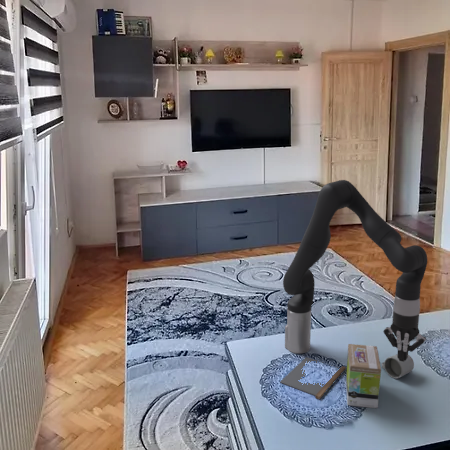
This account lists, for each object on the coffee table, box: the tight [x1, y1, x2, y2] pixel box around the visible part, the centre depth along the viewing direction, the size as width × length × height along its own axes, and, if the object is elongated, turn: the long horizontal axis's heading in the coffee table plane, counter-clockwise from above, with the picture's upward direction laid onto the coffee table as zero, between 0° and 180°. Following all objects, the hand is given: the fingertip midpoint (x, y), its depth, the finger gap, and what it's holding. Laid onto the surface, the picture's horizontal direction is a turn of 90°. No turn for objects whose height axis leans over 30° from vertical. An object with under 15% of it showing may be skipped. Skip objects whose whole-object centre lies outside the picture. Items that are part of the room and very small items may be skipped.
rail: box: [314, 365, 347, 400], centre depth 173 cm, size 2×22×1 cm, turn 143°
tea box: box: [345, 343, 382, 409], centre depth 165 cm, size 15×10×15 cm, turn 168°
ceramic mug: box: [381, 353, 415, 379], centre depth 178 cm, size 11×8×8 cm
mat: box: [279, 356, 339, 397], centre depth 178 cm, size 14×20×1 cm
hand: (402, 360), depth 155 cm, fingers closed
